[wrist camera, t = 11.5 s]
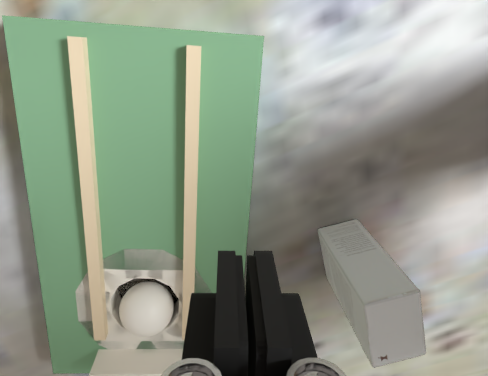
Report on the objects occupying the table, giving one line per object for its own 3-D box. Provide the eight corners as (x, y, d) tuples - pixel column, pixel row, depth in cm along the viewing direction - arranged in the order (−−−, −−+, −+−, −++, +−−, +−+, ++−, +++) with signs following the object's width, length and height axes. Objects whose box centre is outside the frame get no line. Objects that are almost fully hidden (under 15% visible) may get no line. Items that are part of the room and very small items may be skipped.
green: (259, 37, 30) (269, 35, 24) (234, 349, 41) (238, 397, 35) (22, 18, 28) (-24, 11, 23) (64, 350, 39) (39, 400, 34)
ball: (160, 298, 32) (188, 328, 35) (152, 262, 36) (177, 290, 39) (109, 330, 32) (141, 357, 35) (106, 289, 36) (135, 316, 39)
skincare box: (365, 267, 39) (428, 356, 27) (325, 277, 39) (371, 371, 28) (358, 215, 36) (422, 290, 25) (315, 226, 36) (361, 306, 25)
